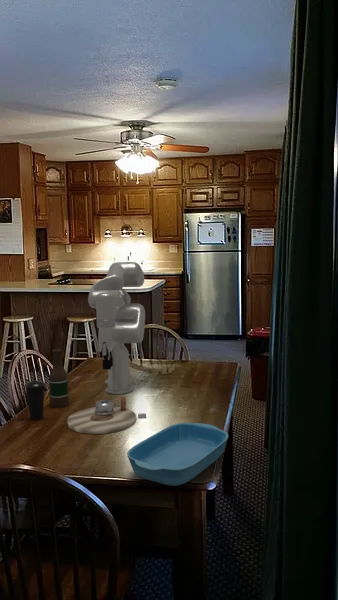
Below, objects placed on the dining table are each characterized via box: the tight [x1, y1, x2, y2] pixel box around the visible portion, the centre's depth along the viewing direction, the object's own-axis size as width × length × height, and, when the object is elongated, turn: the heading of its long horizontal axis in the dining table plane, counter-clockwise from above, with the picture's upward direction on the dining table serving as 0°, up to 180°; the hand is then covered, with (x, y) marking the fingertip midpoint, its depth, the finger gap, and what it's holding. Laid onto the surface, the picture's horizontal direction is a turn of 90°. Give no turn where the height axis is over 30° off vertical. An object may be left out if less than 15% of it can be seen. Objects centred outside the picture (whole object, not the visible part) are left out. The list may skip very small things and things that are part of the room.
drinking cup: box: [24, 367, 46, 421], centre depth 204 cm, size 8×8×20 cm
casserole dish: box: [126, 422, 229, 487], centre depth 161 cm, size 37×22×7 cm, turn 146°
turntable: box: [66, 396, 137, 435], centre depth 199 cm, size 26×26×6 cm
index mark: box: [137, 412, 147, 419], centre depth 203 cm, size 3×1×2 cm, turn 102°
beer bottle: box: [48, 348, 70, 409], centre depth 218 cm, size 8×8×24 cm
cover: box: [94, 399, 115, 416], centre depth 204 cm, size 8×8×4 cm
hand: (107, 367), depth 212 cm, fingers open, 3 cm apart
